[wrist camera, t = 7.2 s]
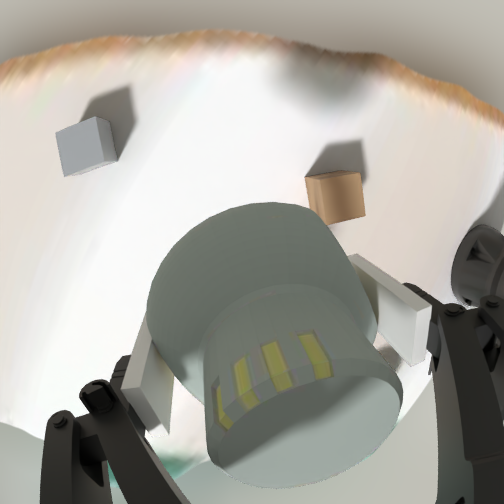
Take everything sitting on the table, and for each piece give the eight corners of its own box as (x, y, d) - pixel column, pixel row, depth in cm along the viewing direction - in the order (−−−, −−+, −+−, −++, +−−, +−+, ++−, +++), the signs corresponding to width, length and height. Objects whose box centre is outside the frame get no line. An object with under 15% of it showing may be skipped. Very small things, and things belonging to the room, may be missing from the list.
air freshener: (356, 324, 18) (448, 434, 8) (246, 389, 18) (275, 525, 9) (272, 167, 14) (386, 182, 5) (135, 257, 15) (53, 388, 5)
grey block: (109, 121, 29) (95, 116, 25) (118, 161, 31) (104, 161, 26) (73, 135, 29) (55, 132, 24) (81, 174, 31) (64, 176, 26)
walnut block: (341, 170, 35) (360, 172, 31) (346, 208, 37) (365, 216, 32) (304, 176, 35) (319, 179, 30) (311, 216, 37) (326, 225, 32)
